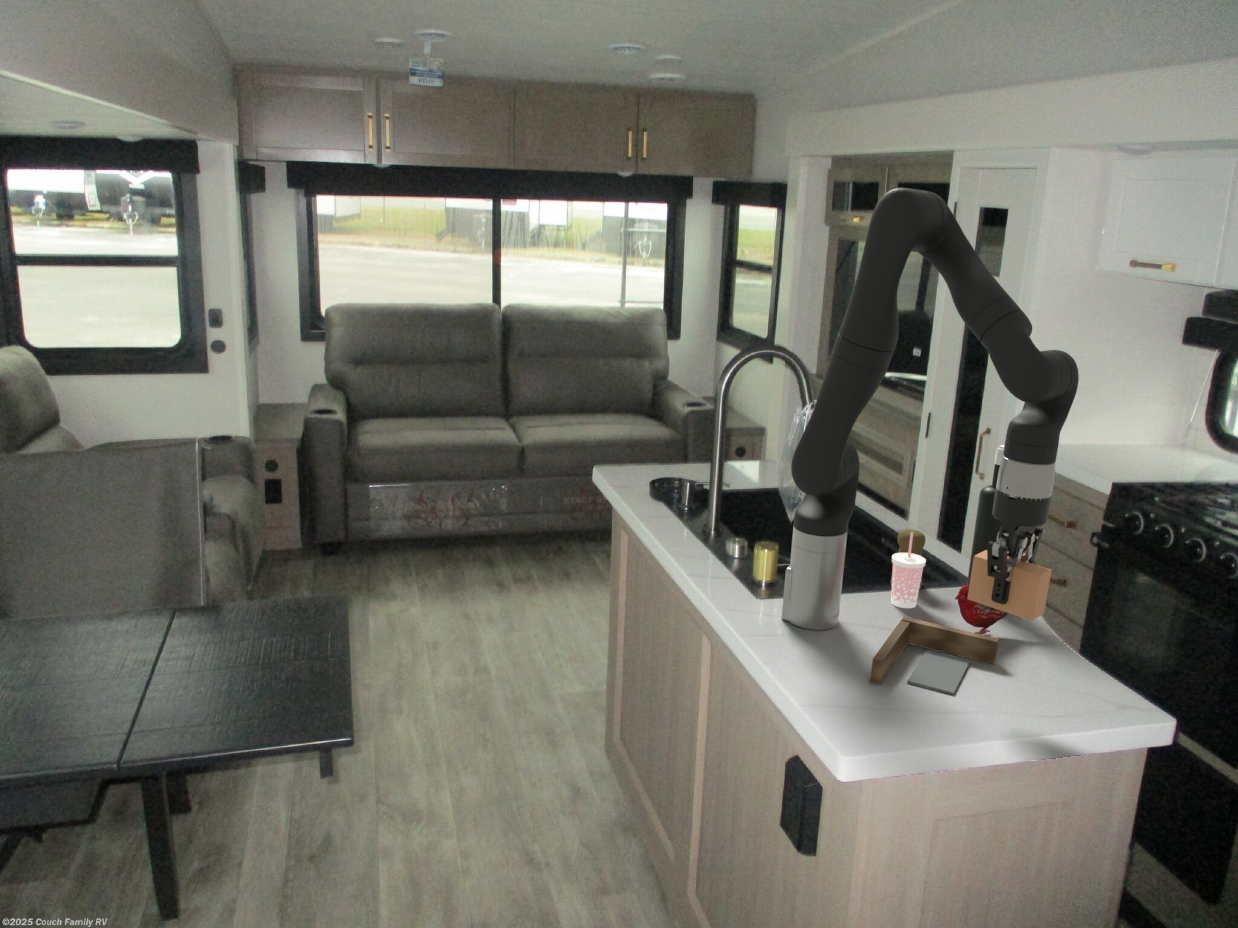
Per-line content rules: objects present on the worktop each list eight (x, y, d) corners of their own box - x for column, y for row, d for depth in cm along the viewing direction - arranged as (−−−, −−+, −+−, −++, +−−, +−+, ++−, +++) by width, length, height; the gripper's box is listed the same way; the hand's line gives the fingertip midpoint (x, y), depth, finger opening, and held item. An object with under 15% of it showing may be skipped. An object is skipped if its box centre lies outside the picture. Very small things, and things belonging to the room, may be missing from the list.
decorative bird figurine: (942, 637, 169) (950, 583, 167) (1019, 623, 176) (1027, 571, 174) (954, 644, 167) (962, 590, 164) (1032, 629, 174) (1040, 577, 171)
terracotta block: (967, 599, 148) (973, 555, 147) (979, 592, 151) (985, 549, 149) (1032, 620, 142) (1040, 575, 140) (1043, 613, 145) (1051, 569, 143)
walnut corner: (870, 681, 153) (872, 658, 152) (901, 637, 169) (903, 616, 168) (973, 709, 145) (977, 685, 144) (995, 660, 161) (999, 638, 160)
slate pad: (907, 682, 153) (907, 680, 153) (926, 651, 164) (926, 649, 164) (953, 695, 149) (953, 692, 149) (970, 662, 160) (970, 660, 160)
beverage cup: (926, 608, 181) (936, 537, 177) (896, 611, 180) (905, 538, 176) (909, 595, 187) (918, 526, 183) (880, 597, 185) (888, 527, 182)
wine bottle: (966, 602, 185) (987, 448, 177) (964, 590, 190) (985, 440, 182) (998, 606, 183) (1021, 451, 176) (995, 594, 189) (1018, 444, 181)
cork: (923, 591, 189) (930, 537, 186) (891, 588, 190) (897, 534, 187) (920, 580, 195) (927, 527, 192) (889, 576, 196) (895, 524, 193)
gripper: (1019, 474, 149) (1002, 579, 154) (976, 491, 139) (959, 602, 144) (1069, 486, 144) (1050, 594, 149) (1028, 504, 134) (1009, 619, 139)
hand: (1005, 597), depth 146 cm, fingers closed on terracotta block, 4 cm apart
